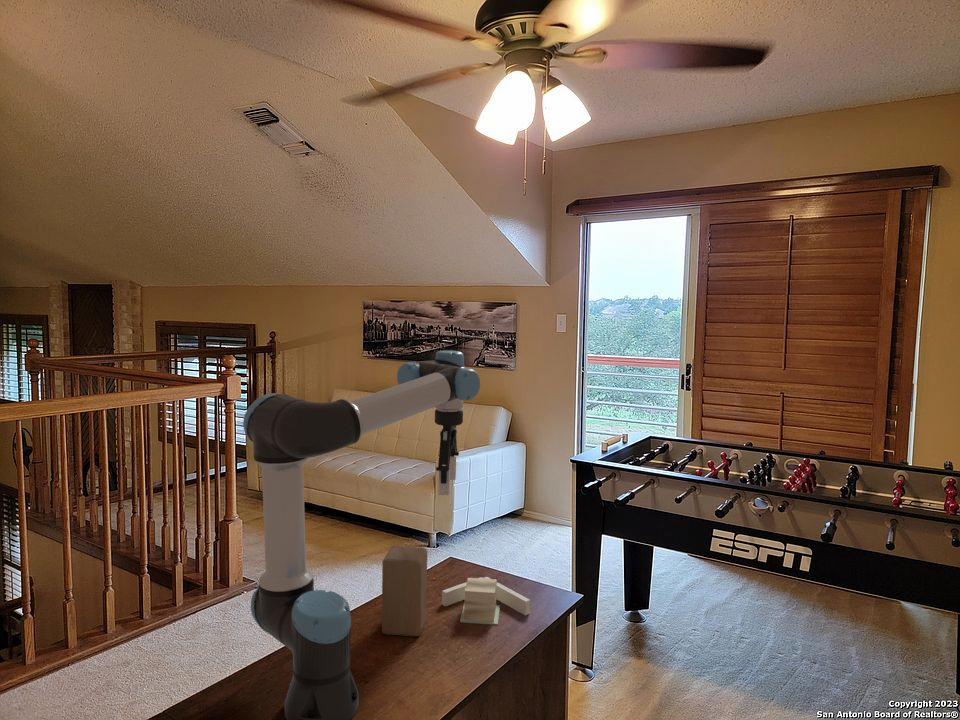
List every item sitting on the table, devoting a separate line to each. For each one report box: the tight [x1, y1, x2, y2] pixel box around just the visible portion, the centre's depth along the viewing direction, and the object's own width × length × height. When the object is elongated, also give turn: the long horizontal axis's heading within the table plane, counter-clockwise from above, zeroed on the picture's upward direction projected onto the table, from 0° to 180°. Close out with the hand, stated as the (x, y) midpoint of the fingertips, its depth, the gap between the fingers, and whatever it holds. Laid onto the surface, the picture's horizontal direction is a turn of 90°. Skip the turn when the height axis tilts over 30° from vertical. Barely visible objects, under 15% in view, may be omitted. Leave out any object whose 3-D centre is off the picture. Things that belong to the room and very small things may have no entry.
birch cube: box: [463, 577, 498, 622], centre depth 180 cm, size 8×8×8 cm
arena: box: [441, 576, 531, 626], centre depth 182 cm, size 18×19×4 cm
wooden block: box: [381, 545, 428, 637], centre depth 171 cm, size 10×10×20 cm
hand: (447, 486), depth 178 cm, fingers open, 13 cm apart
